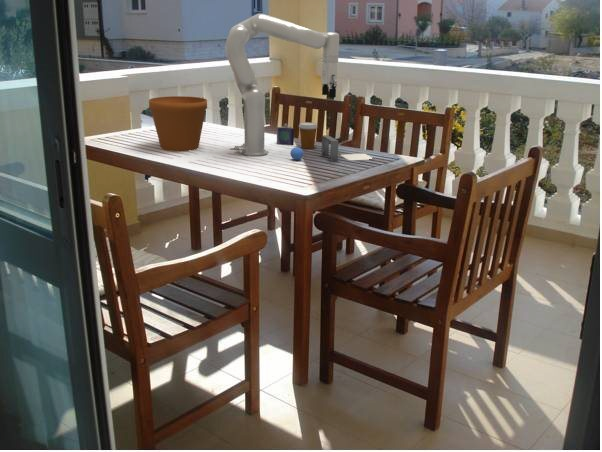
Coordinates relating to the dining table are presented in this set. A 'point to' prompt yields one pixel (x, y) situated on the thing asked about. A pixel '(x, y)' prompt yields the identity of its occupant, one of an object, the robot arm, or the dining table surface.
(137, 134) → the dining table surface
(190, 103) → the flowerpot
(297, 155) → the ball
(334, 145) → the bridge
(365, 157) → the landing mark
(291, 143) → the flask
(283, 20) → the robot arm
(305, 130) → the disposable coffee cup
